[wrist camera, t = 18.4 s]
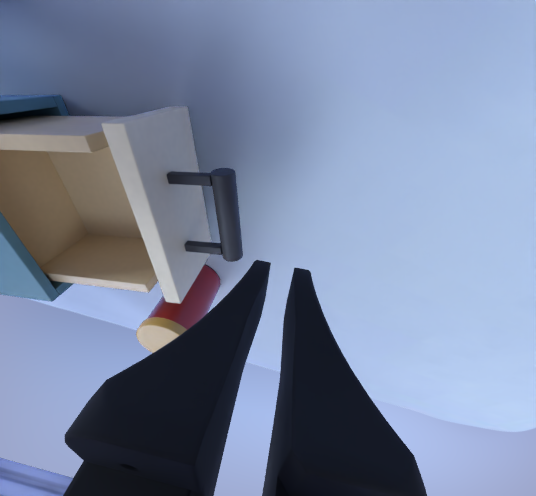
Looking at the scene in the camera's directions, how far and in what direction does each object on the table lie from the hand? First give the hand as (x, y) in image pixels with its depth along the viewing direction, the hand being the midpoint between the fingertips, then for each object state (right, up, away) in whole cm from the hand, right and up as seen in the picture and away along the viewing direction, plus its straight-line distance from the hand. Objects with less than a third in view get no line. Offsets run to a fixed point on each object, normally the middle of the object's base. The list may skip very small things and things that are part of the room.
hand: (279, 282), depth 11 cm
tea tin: (-8, -2, +16) cm, 18 cm away
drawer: (-10, +6, +9) cm, 15 cm away
